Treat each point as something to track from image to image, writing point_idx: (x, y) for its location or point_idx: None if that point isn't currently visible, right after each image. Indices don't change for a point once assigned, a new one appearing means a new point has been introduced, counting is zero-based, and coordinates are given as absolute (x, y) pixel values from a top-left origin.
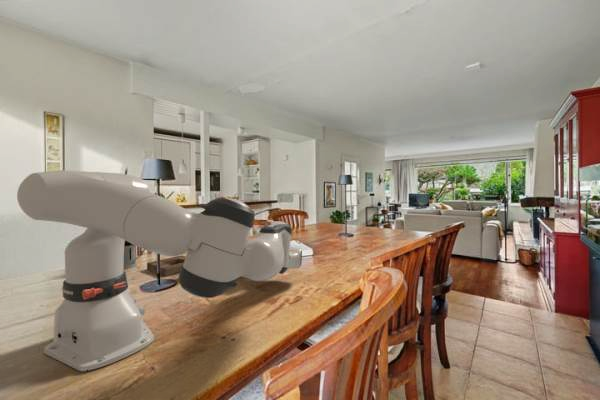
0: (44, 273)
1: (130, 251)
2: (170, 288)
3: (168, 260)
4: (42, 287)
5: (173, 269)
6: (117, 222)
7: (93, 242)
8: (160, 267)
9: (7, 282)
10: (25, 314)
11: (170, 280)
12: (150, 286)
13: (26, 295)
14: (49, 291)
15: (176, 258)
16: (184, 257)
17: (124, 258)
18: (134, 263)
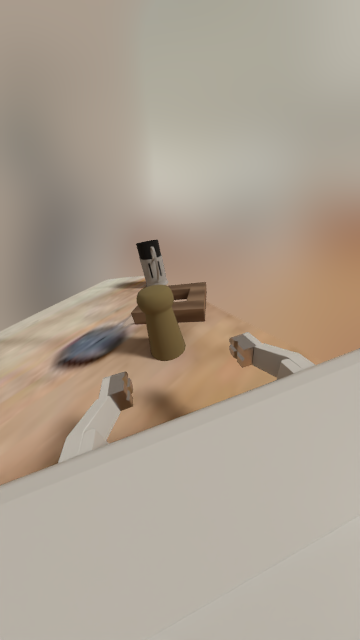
0: (122, 278)
1: (150, 267)
2: (72, 369)
3: (174, 289)
4: (88, 294)
5: (143, 315)
6: None
7: None
8: None
9: (100, 282)
10: (12, 329)
11: (118, 339)
12: (86, 340)
13: (69, 301)
14: (77, 302)
15: (188, 287)
16: (199, 288)
17: (146, 275)
18: (159, 282)
